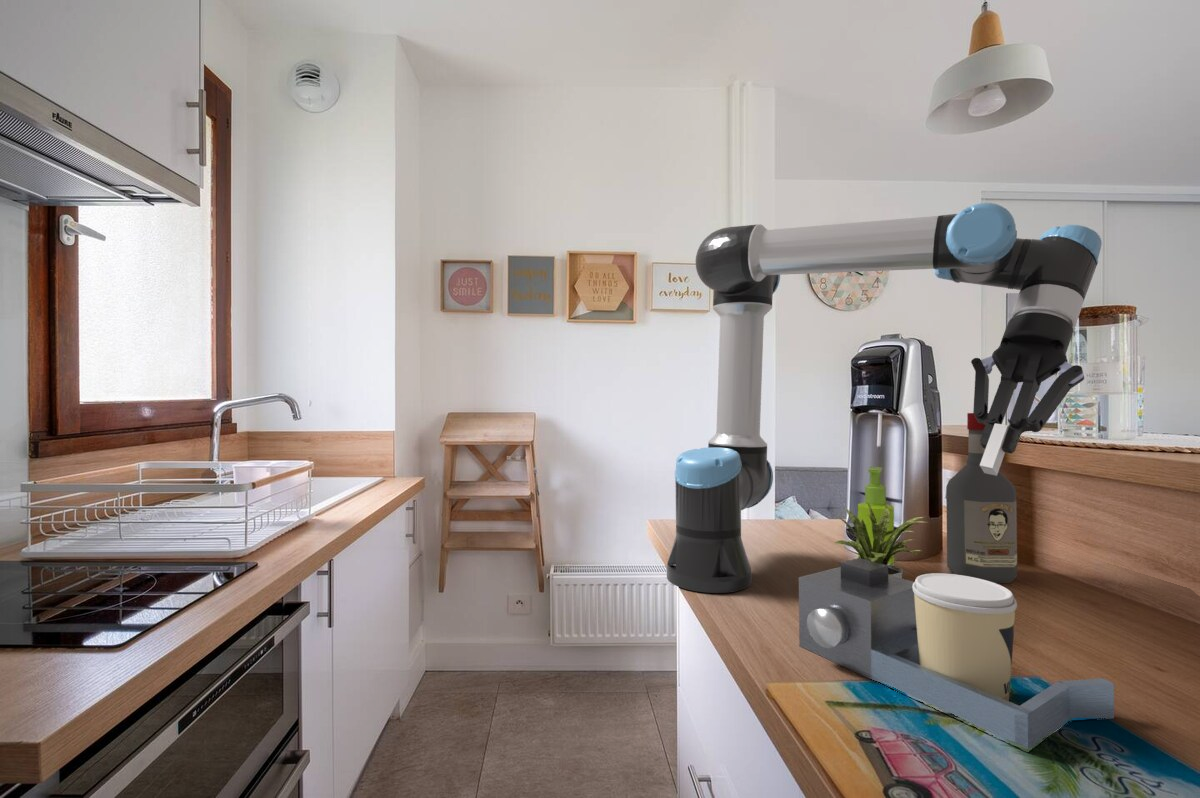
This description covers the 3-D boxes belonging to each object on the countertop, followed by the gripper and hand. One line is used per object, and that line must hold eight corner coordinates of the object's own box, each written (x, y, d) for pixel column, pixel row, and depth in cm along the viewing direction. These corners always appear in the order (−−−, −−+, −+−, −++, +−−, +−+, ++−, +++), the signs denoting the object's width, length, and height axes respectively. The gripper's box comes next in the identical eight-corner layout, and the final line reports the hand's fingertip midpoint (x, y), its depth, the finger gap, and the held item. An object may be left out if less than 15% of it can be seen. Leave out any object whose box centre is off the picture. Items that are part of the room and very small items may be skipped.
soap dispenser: (895, 573, 99) (894, 466, 99) (893, 584, 93) (891, 470, 94) (861, 568, 102) (859, 464, 103) (856, 578, 96) (855, 468, 97)
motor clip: (864, 622, 77) (864, 546, 77) (1115, 717, 54) (1114, 607, 54) (789, 649, 69) (788, 564, 69) (1046, 774, 45) (1044, 645, 45)
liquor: (941, 567, 103) (939, 412, 103) (989, 568, 102) (987, 412, 103) (972, 583, 93) (970, 413, 94) (1025, 584, 93) (1023, 413, 93)
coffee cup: (1034, 730, 52) (1033, 606, 52) (924, 712, 55) (923, 595, 55) (998, 682, 60) (997, 577, 60) (905, 669, 63) (904, 569, 64)
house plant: (947, 636, 72) (946, 516, 72) (836, 622, 77) (835, 510, 77) (923, 600, 86) (922, 499, 86) (830, 590, 90) (829, 494, 91)
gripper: (1104, 341, 74) (1053, 494, 69) (993, 336, 84) (942, 469, 79) (1098, 310, 69) (1043, 472, 65) (981, 309, 79) (928, 448, 75)
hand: (988, 470), depth 72 cm, fingers closed
